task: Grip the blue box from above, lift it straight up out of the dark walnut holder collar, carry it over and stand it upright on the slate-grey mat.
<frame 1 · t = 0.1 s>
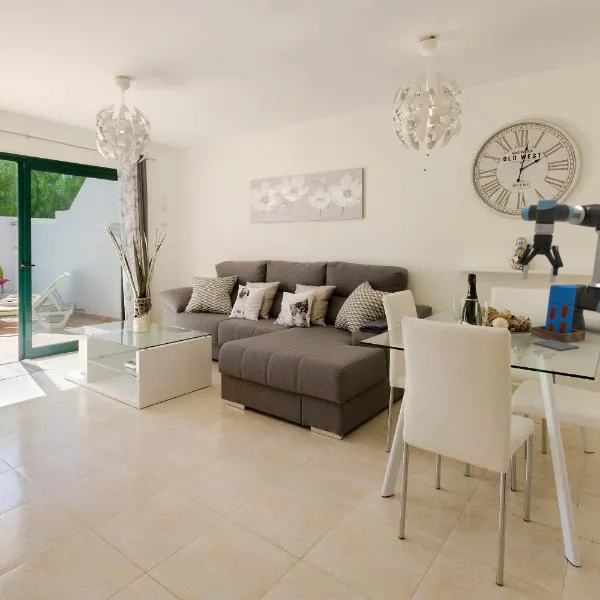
hand: (538, 281, 206), 28 cm above the table, tool pointing down, fingers open, 13 cm apart
holder: (556, 337, 218), on the table
blue box: (556, 338, 218), resting in holder
mat: (555, 345, 202), on the table
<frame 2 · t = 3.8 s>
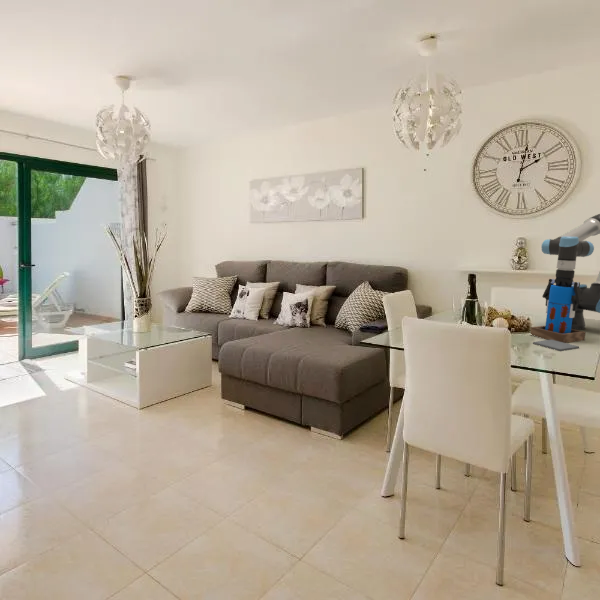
hand: (559, 315, 217), 11 cm above the table, tool pointing down, fingers closed on blue box, 11 cm apart
blue box: (556, 338, 218), resting in holder, touching gripper
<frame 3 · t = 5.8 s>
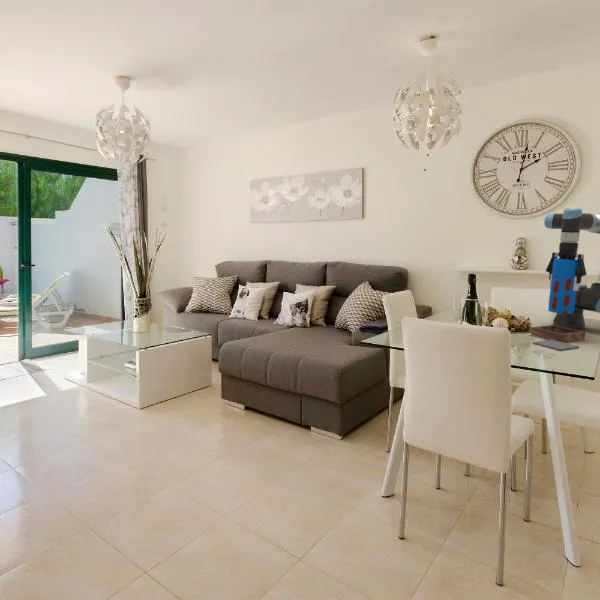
hand: (563, 288, 215), 24 cm above the table, tool pointing down, fingers closed on blue box, 11 cm apart
blue box: (560, 312, 216), point 13 cm above the table, touching gripper
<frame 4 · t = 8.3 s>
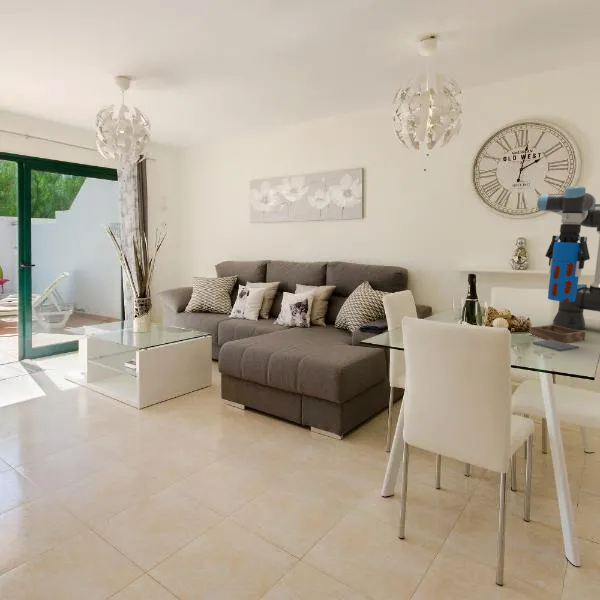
hand: (564, 274, 197), 32 cm above the table, tool pointing down, fingers closed on blue box, 11 cm apart
blue box: (561, 300, 199), point 21 cm above the table, touching gripper
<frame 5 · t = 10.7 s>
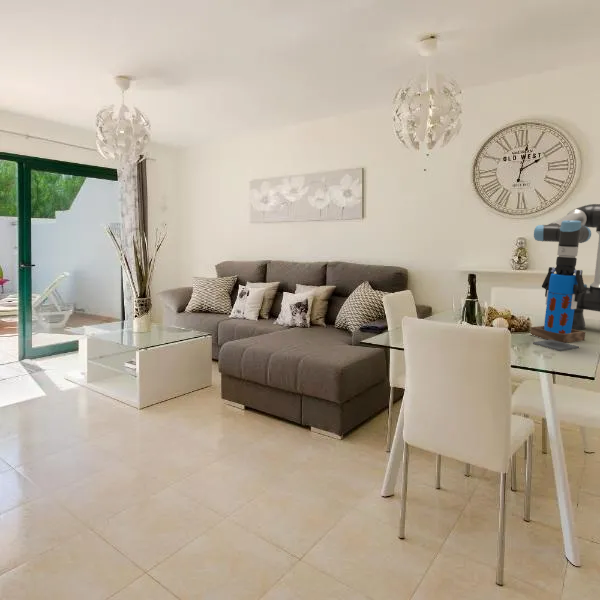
hand: (560, 306, 199), 18 cm above the table, tool pointing down, fingers closed on blue box, 11 cm apart
blue box: (557, 331, 201), point 7 cm above the table, touching gripper
when the fingers open (13 cm above the table, at t = 12.8 s): blue box drops 1 cm, resting on mat.
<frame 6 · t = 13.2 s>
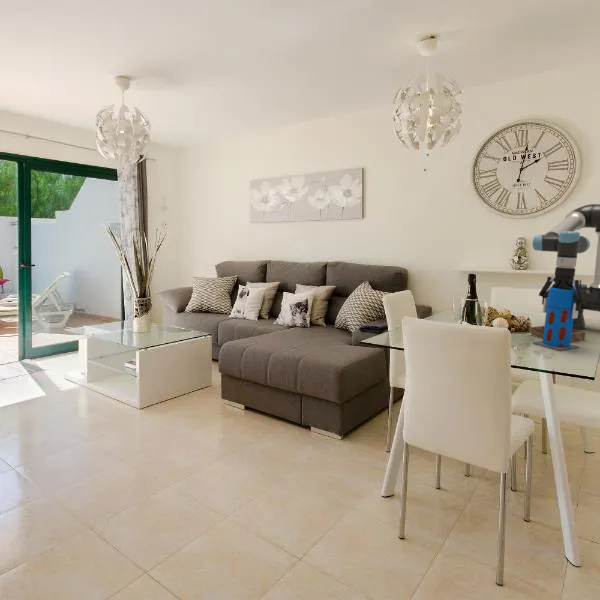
hand: (559, 315, 200), 14 cm above the table, tool pointing down, fingers open, 13 cm apart
blue box: (556, 344, 202), point 1 cm above the table, touching mat
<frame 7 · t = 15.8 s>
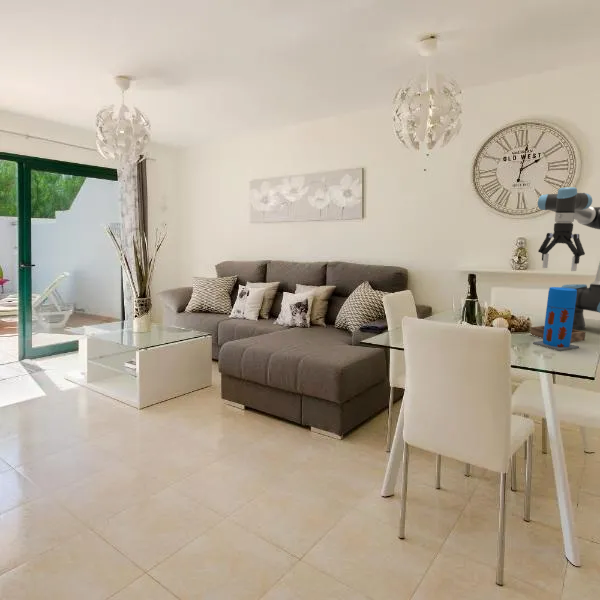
hand: (558, 269, 209), 33 cm above the table, tool pointing down, fingers open, 13 cm apart
nothing on the table moved.
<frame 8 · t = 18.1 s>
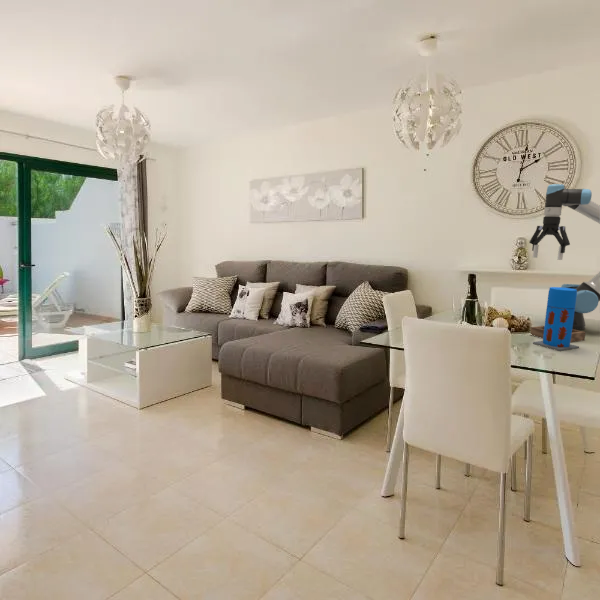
hand: (547, 258, 230), 37 cm above the table, tool pointing down, fingers open, 13 cm apart
nothing on the table moved.
at the end: blue box inside the target area on the mat (0.1 cm from its centre), point 0.6 cm above the mat's base; blue box tilted 0°; blue box touching mat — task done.
